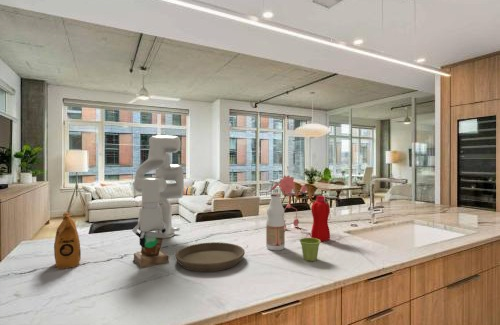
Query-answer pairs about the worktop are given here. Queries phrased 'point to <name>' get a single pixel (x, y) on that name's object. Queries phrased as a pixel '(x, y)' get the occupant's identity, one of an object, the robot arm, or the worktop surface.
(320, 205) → the water bottle
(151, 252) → the food container
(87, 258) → the worktop surface
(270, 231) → the fruit juice
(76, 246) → the coffee package
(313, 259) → the plant pot
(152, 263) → the base
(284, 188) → the figurine
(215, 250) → the plant saucer
